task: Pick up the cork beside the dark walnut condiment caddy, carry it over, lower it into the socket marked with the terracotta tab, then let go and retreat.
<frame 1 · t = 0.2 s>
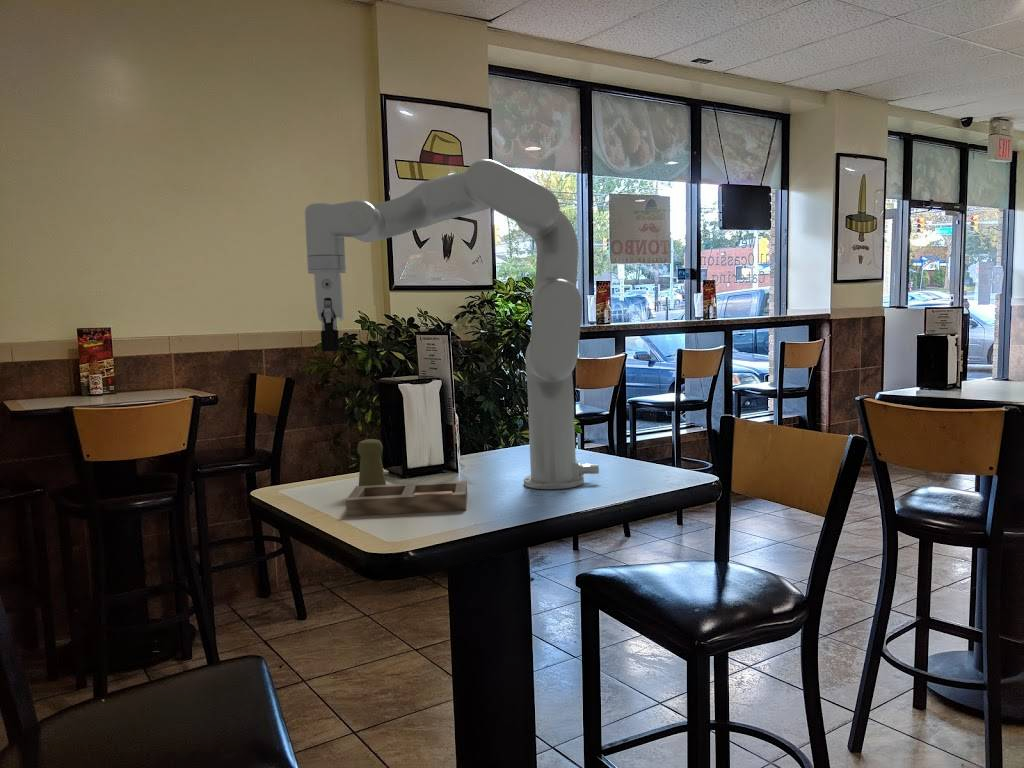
hand: (330, 350, 163), 30 cm above the table, tool pointing down, fingers open, 9 cm apart
caddy: (409, 505, 153), on the table
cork: (372, 492, 167), on the table
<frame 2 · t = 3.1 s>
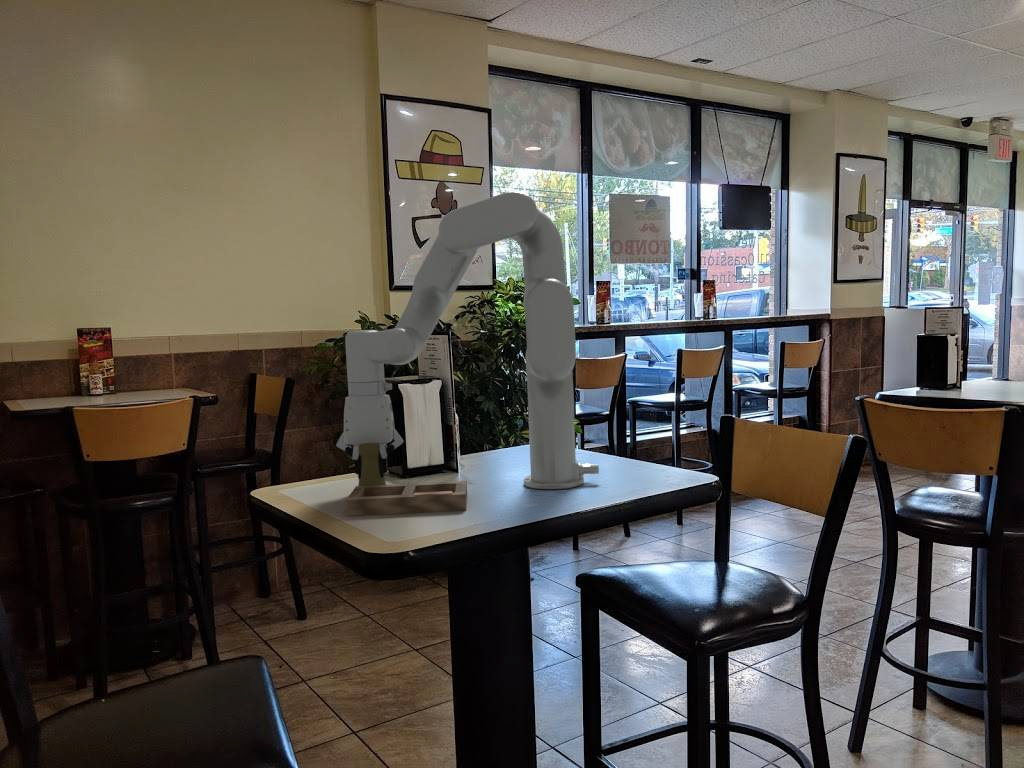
hand: (371, 476, 166), 3 cm above the table, tool pointing down, fingers closed on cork, 3 cm apart
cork: (372, 492, 167), on the table, touching gripper
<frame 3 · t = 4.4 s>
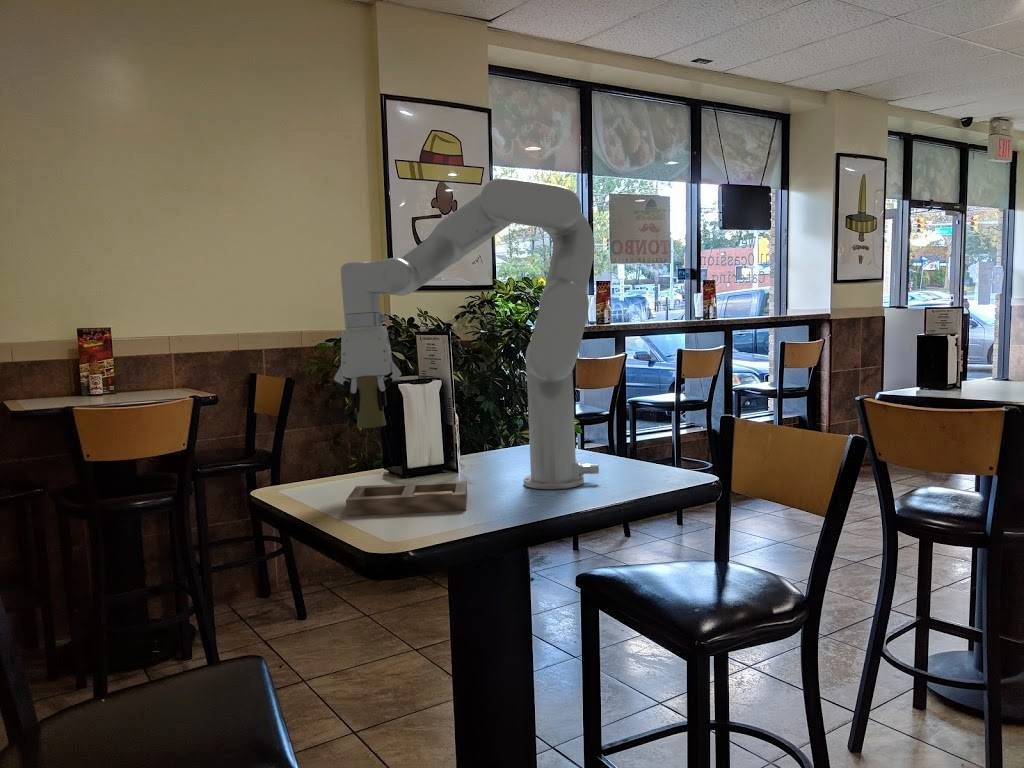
hand: (370, 409, 165), 17 cm above the table, tool pointing down, fingers closed on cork, 3 cm apart
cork: (371, 426, 166), point 14 cm above the table, touching gripper
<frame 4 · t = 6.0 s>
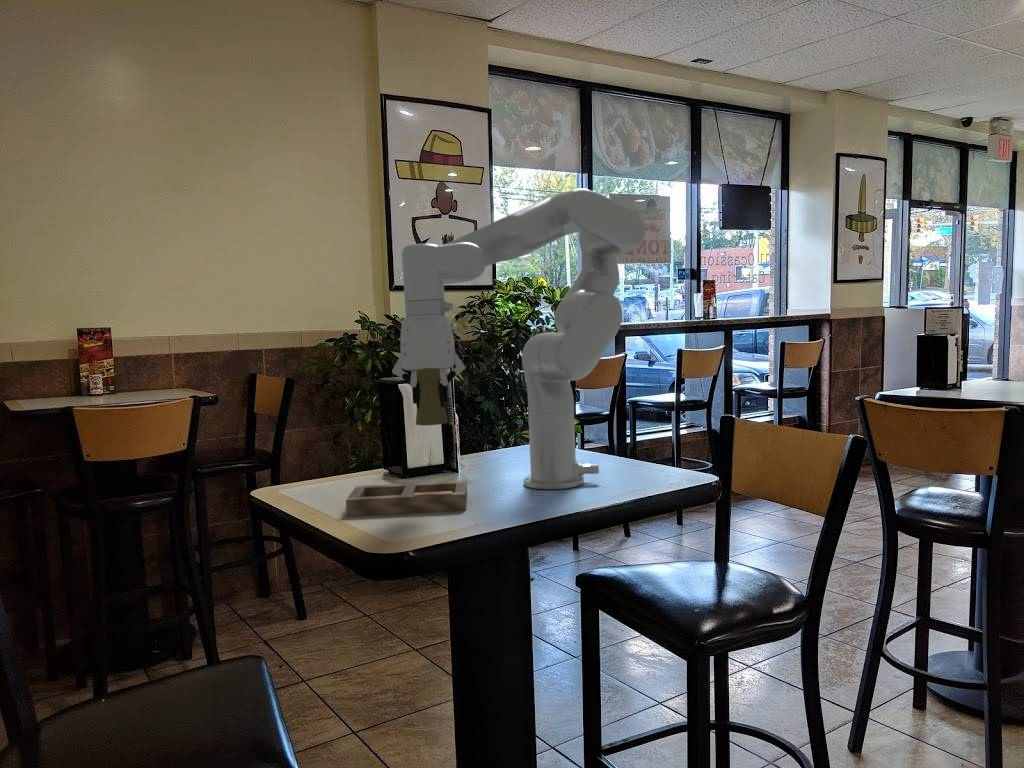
hand: (430, 405, 152), 19 cm above the table, tool pointing down, fingers closed on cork, 3 cm apart
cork: (431, 424, 152), point 16 cm above the table, touching gripper
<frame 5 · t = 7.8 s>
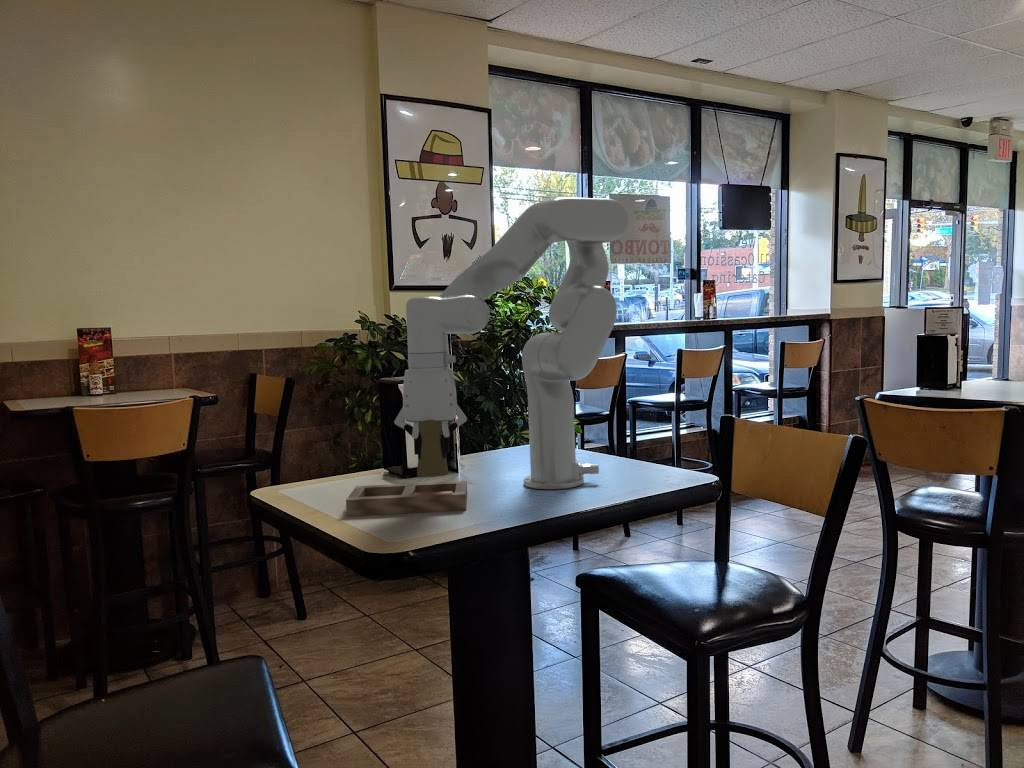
hand: (432, 456, 152), 9 cm above the table, tool pointing down, fingers closed on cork, 3 cm apart
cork: (432, 474, 153), point 6 cm above the table, touching gripper
when the fingers open (5 cm above the table, at t = 9.3 s): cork drops 2 cm, resting in caddy.
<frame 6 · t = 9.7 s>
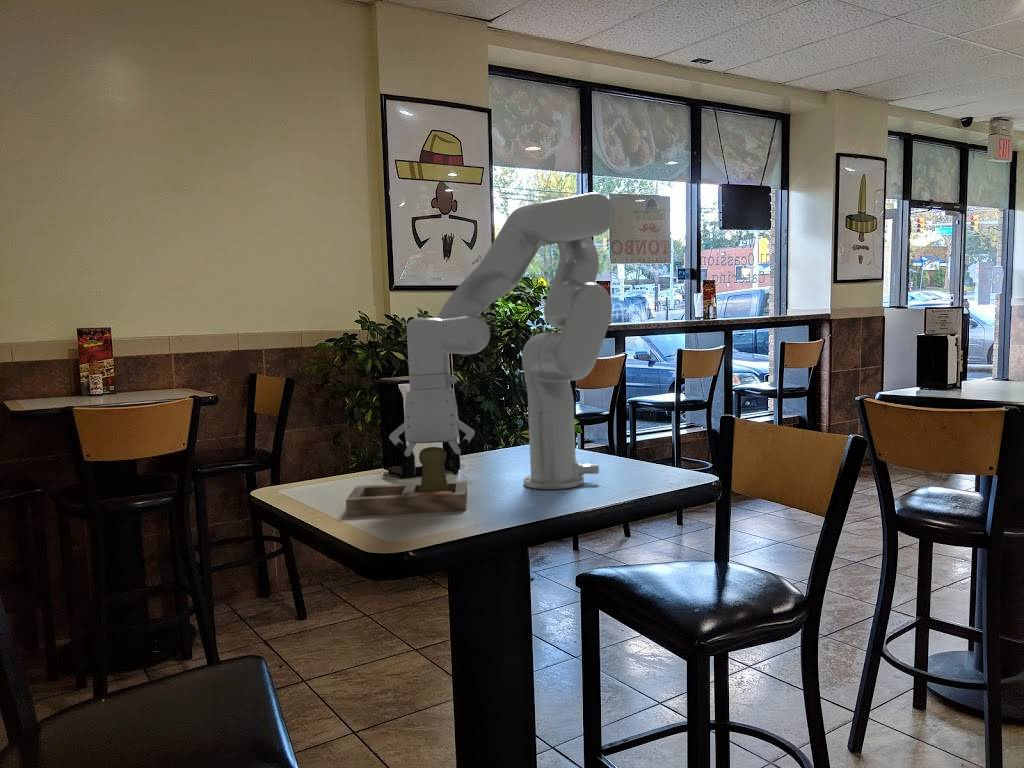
hand: (434, 474, 153), 6 cm above the table, tool pointing down, fingers open, 7 cm apart
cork: (435, 505, 153), resting in caddy
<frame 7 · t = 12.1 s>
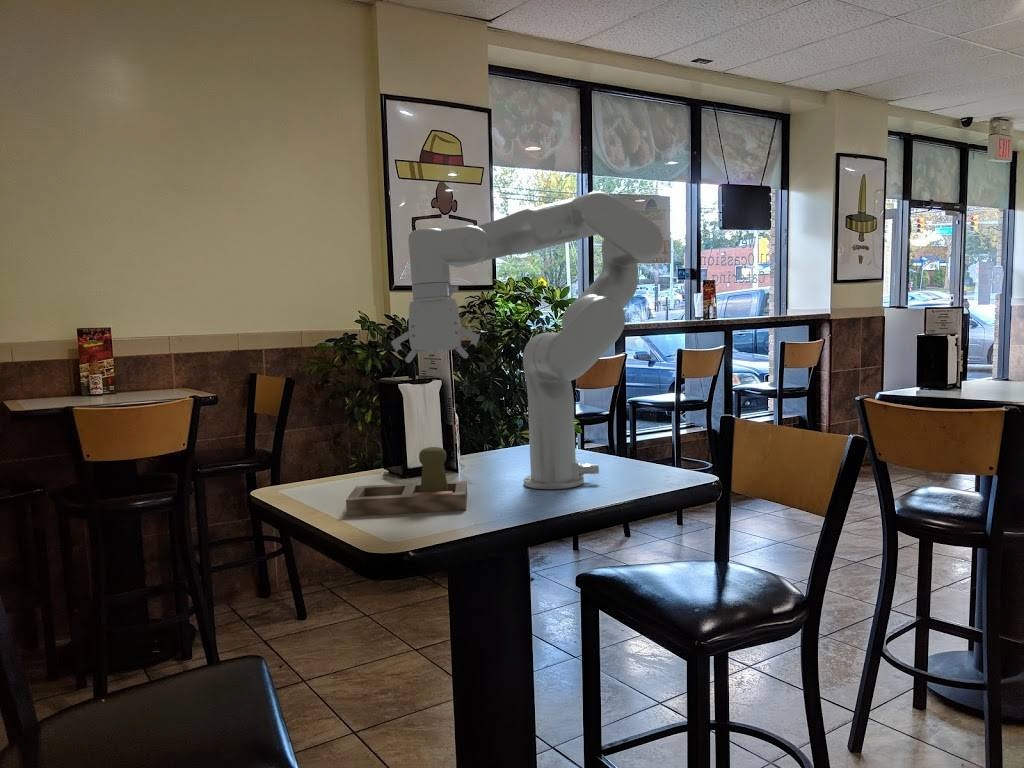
hand: (438, 380, 157), 23 cm above the table, tool pointing down, fingers open, 9 cm apart
nothing on the table moved.
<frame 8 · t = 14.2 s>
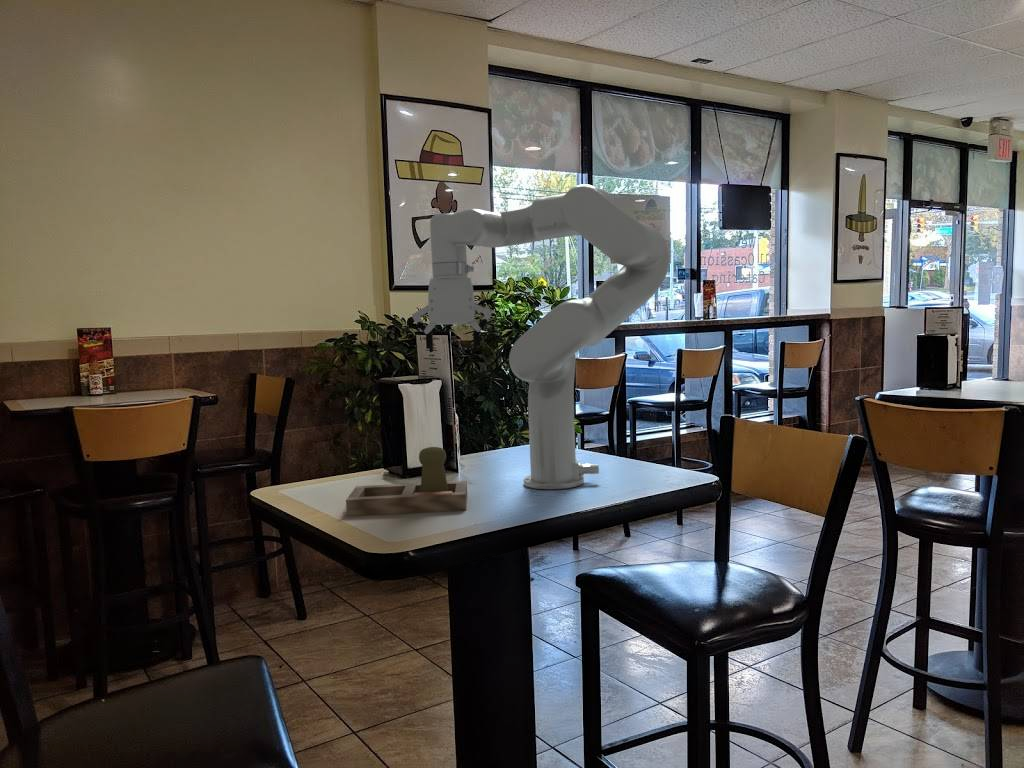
hand: (453, 351, 174), 28 cm above the table, tool pointing down, fingers open, 9 cm apart
nothing on the table moved.
at the end: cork 0.1 cm from the target spot on the caddy, point 0.0 cm above the caddy's base; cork tilted 0°; the gripper is holding nothing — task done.
